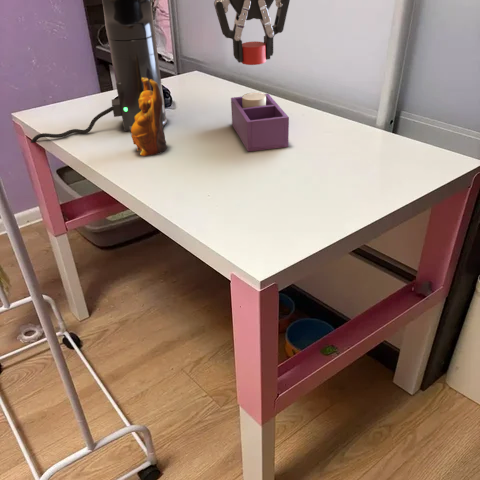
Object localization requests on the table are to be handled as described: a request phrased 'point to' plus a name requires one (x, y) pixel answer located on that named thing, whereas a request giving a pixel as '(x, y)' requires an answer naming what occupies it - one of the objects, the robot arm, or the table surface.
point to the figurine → (149, 121)
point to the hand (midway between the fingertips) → (253, 59)
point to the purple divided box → (260, 125)
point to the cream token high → (253, 100)
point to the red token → (254, 53)
